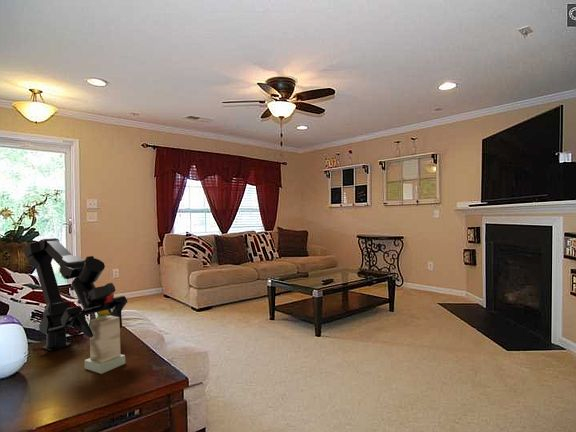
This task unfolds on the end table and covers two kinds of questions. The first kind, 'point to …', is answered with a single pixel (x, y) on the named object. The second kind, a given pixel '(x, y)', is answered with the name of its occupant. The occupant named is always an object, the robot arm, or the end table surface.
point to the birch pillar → (105, 338)
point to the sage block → (104, 364)
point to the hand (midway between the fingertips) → (107, 332)
